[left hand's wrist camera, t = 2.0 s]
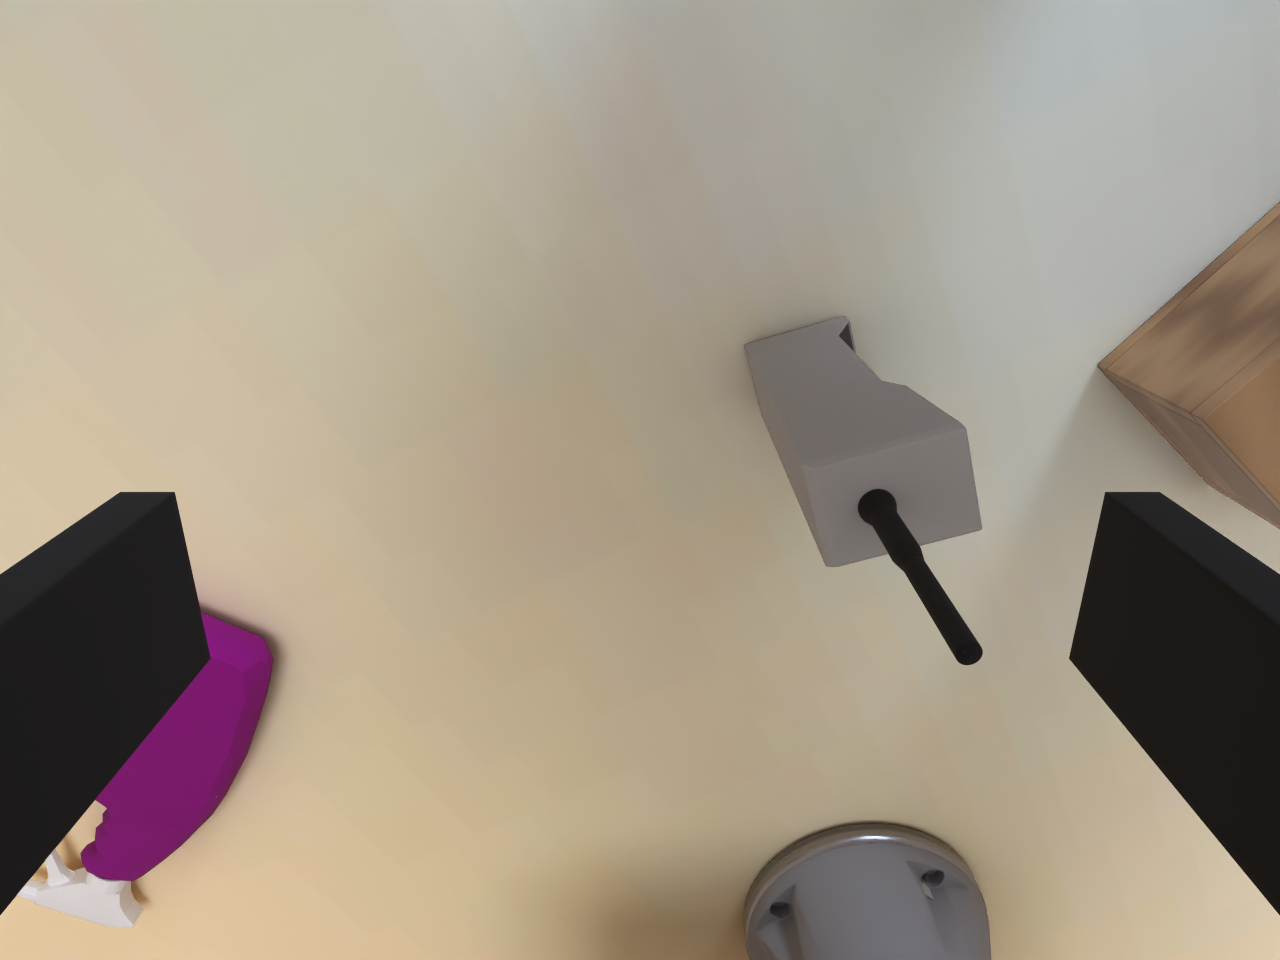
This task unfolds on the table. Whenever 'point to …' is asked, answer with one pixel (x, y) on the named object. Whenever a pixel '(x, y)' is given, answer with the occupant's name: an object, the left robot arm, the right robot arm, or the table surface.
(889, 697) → the table surface
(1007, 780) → the table surface
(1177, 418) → the wooden rectangular block
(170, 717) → the spray bottle
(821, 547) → the vintage mobile phone
